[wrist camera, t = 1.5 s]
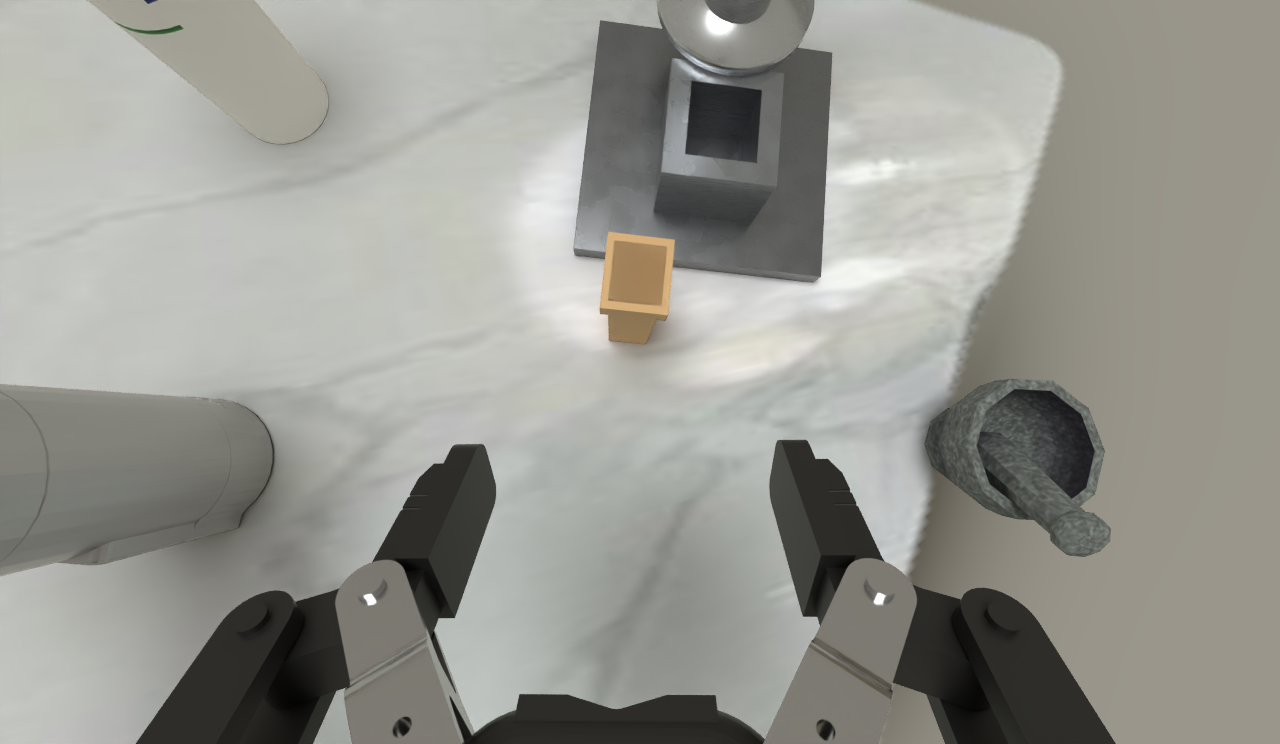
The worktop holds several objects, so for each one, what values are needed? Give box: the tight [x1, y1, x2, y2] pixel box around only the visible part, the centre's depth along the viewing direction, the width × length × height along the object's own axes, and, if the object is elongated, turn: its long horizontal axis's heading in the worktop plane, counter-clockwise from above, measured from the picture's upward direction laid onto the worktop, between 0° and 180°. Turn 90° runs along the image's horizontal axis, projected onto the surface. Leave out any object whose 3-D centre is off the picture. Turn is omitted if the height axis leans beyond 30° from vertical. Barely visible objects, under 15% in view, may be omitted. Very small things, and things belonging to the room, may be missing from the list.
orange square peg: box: [600, 232, 675, 344], centre depth 32 cm, size 4×4×12 cm
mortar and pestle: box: [925, 379, 1110, 557], centre depth 33 cm, size 11×9×12 cm
